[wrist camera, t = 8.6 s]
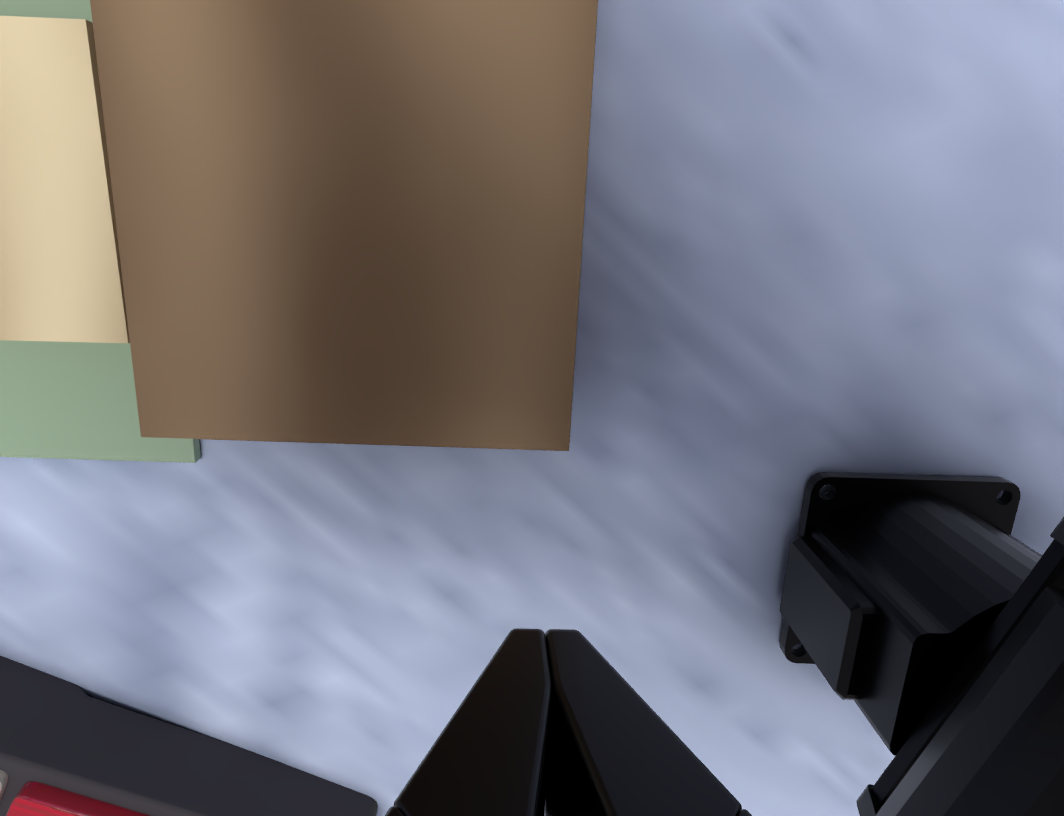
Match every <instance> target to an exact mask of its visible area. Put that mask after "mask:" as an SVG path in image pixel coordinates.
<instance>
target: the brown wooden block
mask: <svg viewBox="0 0 1064 816" xmlns="http://www.w3.org/2000/svg"><path fill="white" fill-rule="evenodd" d="M90 5H91V14H92V22H93V31H94V39H95V48H96V57H97V65H98V74H99V82H100V91H101V99H102V108H103V116H104V125H105V134H106V142H107V151H108V159H109V168H110V176H111V185H112V194H113V202H114V211H115V219H116V228H117V236H118V245H119V253H120V262H121V271H122V279H123V288H124V296H125V305H126V313H127V322H128V330H129V339H130V348H131V356H132V365H133V373H134V382H135V390H136V399H137V408H138V416H139V425H140V433H141V437H152V438H183V439H214V440H245V441H276V442H307V443H338V444H369V445H400V446H431V447H462V448H493V449H524V450H555V451H569V443H570V427H571V412H572V396H573V381H574V365H575V349H576V334H577V318H578V303H579V287H580V271H581V256H582V240H583V225H584V209H585V193H586V178H587V162H588V147H589V131H590V115H591V100H592V84H593V69H594V53H595V37H596V22H597V6H598V0H90Z"/></svg>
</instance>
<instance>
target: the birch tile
mask: <svg viewBox="0 0 1064 816" xmlns="http://www.w3.org/2000/svg"><path fill="white" fill-rule="evenodd" d="M0 340H10V341H51V342H91V343H130V339H129V330H128V322H127V313H126V305H125V296H124V288H123V279H122V271H121V262H120V253H119V245H118V236H117V228H116V219H115V211H114V202H113V194H112V185H111V176H110V168H109V159H108V151H107V142H106V134H105V125H104V116H103V108H102V99H101V91H100V82H99V74H98V65H97V57H96V48H95V39H94V31H93V23H92V22H90V21H88V20H86V19H66V18H43V17H20V16H0Z"/></svg>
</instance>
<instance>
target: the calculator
mask: <svg viewBox="0 0 1064 816" xmlns="http://www.w3.org/2000/svg"><path fill="white" fill-rule="evenodd" d="M377 807H378V806H377V803H376V801H375V800H374V799H373V798H371V797H369V796H367V795H364V794H362V793H359V792H356V791H354V790H351V789H349V788H346V787H343V786H341V785H338V784H335V783H333V782H330V781H328V780H325V779H322V778H320V777H317V776H314V775H312V774H309V773H307V772H304V771H301V770H299V769H296V768H293V767H291V766H288V765H285V764H283V763H280V762H278V761H275V760H272V759H270V758H267V757H264V756H262V755H259V754H256V753H254V752H251V751H248V750H246V749H243V748H240V747H237V746H234V745H232V744H229V743H226V742H223V741H220V740H217V739H214V738H211V737H208V736H205V735H202V734H199V733H196V732H193V731H190V730H187V729H184V728H181V727H178V726H175V725H172V724H169V723H166V722H163V721H160V720H157V719H154V718H151V717H148V716H145V715H142V714H139V713H136V712H133V711H130V710H127V709H124V708H121V707H118V706H115V705H112V704H109V703H106V702H103V701H100V700H98V699H95V698H92V697H89V696H88V695H86V694H85V693H84V691H83V690H82V689H81V688H80V687H79V686H77V685H75V684H73V683H70V682H68V681H65V680H63V679H60V678H57V677H55V676H52V675H50V674H47V673H44V672H42V671H39V670H36V669H34V668H31V667H29V666H26V665H23V664H21V663H18V662H15V661H13V660H10V659H8V658H5V657H2V656H0V816H376V814H377Z"/></svg>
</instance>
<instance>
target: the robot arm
mask: <svg viewBox="0 0 1064 816" xmlns="http://www.w3.org/2000/svg"><path fill="white" fill-rule="evenodd" d="M828 484H830V489H829V491H828V492H827V493H826V494H823V495H819V491H820V489H821V488H822V487H823V486H824V485H828ZM1001 491H1003V494H1002V496H1001V497H1000V498H999V499H997V500H996V497H997V495H998V493H999V492H1001ZM1019 501H1020V490H1019V488H1018V487H1017V486H1016V485H1015V484H1013V483H1012V482H1010V481H1008V480H1006V479H1003V478H999V477H967V476H936V475H904V474H872V473H840V472H821V473H817V474H815V475H813V476H812V477H811V478H810V479H809V480H808V482H807V485H806V488H805V494H804V500H803V506H802V512H801V518H800V524H799V530H798V536H797V537H796V538H795V539H794V540H793V541H792V542H791V544H790V550H789V556H788V562H787V568H786V574H785V580H784V586H783V592H782V598H781V604H780V612H781V614H782V615H783V617H784V620H783V626H782V632H781V638H780V648H781V650H782V651H783V653H784V655H785V656H786V658H787V659H788V660H789V661H791V662H793V663H807V664H816V665H817V667H818V668H819V670H820V671H821V672H822V674H823V675H824V677H825V678H826V680H827V681H828V683H829V684H830V686H831V687H832V689H833V690H834V691H835V692H836V693H837V694H838V695H839V697H841V698H842V699H846V700H854V701H855V702H856V704H857V705H858V707H859V708H860V709H861V711H862V712H863V714H864V715H865V716H866V718H867V719H868V721H869V722H870V724H871V725H872V726H873V728H874V729H875V731H876V732H877V733H878V735H879V736H880V738H881V739H882V741H883V742H884V743H885V745H886V746H887V748H888V749H889V750H890V752H891V753H892V754H893V755H896V756H895V757H894V759H893V760H892V762H891V763H890V764H889V766H888V767H887V768H886V770H885V771H884V772H883V774H882V775H881V777H880V778H879V779H878V781H877V782H876V783H875V785H868V786H867V787H866V789H865V790H864V791H863V793H862V794H861V795H860V797H859V798H858V800H857V806H858V810H859V814H860V816H1064V517H1063V519H1062V520H1061V521H1060V523H1059V524H1058V525H1057V527H1056V528H1055V530H1054V531H1053V532H1052V534H1051V535H1050V536H1051V537H1052V538H1054V540H1053V542H1052V543H1051V544H1050V546H1049V547H1048V549H1047V550H1046V551H1045V553H1044V554H1043V555H1040V554H1039V553H1037V552H1036V551H1034V550H1032V549H1031V548H1029V547H1028V546H1026V545H1025V544H1023V543H1022V542H1020V541H1019V540H1017V539H1015V538H1014V537H1012V536H1011V531H1012V527H1013V524H1014V520H1015V516H1016V512H1017V508H1018V504H1019ZM799 643H802V645H801V646H800V647H799V648H798V649H792V648H793V646H795V645H796V644H799ZM544 813H545V816H752V815H751V814H750V813H749V812H748V811H747V810H745V809H742V806H741V804H740V803H739V802H738V801H737V799H736V798H735V797H734V796H733V795H732V794H731V793H730V792H729V791H728V790H727V789H726V788H725V787H724V786H723V784H722V783H721V782H720V781H719V780H718V779H717V778H716V777H715V776H714V775H713V774H712V773H711V772H710V771H709V770H708V768H707V767H706V766H705V765H704V764H703V763H702V762H701V761H700V760H699V759H698V758H697V757H696V756H695V755H694V753H693V752H692V751H691V750H690V749H689V748H688V747H687V746H686V745H685V744H684V743H683V742H682V741H681V740H680V739H679V737H678V736H677V735H676V734H675V733H674V732H673V731H672V730H671V729H670V728H669V727H668V726H667V725H666V724H665V722H664V721H663V720H662V719H661V718H660V717H659V716H658V715H657V714H656V713H655V712H654V711H653V710H652V709H651V708H650V706H649V705H648V704H647V703H646V702H645V701H644V700H643V699H642V698H641V697H640V696H639V695H638V694H637V693H636V691H635V690H634V689H633V688H632V687H631V686H630V685H629V684H628V683H627V682H626V681H625V680H624V679H623V678H622V677H621V675H620V674H619V673H618V672H617V671H616V670H615V669H614V668H613V667H612V666H611V665H610V664H609V663H608V662H607V660H606V659H605V658H604V657H603V656H602V655H601V654H600V653H599V652H598V651H597V650H596V649H595V648H594V647H593V646H592V644H591V643H590V642H589V641H588V640H587V639H586V638H585V637H584V636H583V635H582V634H581V633H580V632H579V631H577V630H563V629H551V630H548V631H547V632H546V633H544V632H543V631H542V630H540V629H513V630H511V631H510V633H509V634H508V636H507V637H506V638H505V640H504V641H503V643H502V644H501V646H500V647H499V649H498V650H497V652H496V653H495V655H494V656H493V658H492V659H491V661H490V662H489V663H488V665H487V666H486V668H485V669H484V671H483V672H482V674H481V675H480V677H479V678H478V680H477V681H476V683H475V684H474V686H473V687H472V689H471V690H470V691H469V693H468V694H467V696H466V697H465V699H464V700H463V702H462V703H461V705H460V706H459V708H458V709H457V711H456V712H455V714H454V715H453V717H452V718H451V719H450V721H449V722H448V724H447V725H446V727H445V728H444V730H443V731H442V733H441V734H440V736H439V737H438V739H437V740H436V742H435V743H434V745H433V746H432V747H431V749H430V750H429V752H428V753H427V755H426V756H425V758H424V759H423V761H422V762H421V764H420V765H419V767H418V768H417V770H416V771H415V773H414V774H413V775H412V777H411V778H410V780H409V781H408V783H407V784H406V786H405V787H404V789H403V790H402V792H401V793H400V795H399V796H398V798H397V799H396V801H395V802H394V806H393V807H391V808H390V809H389V810H388V812H387V813H386V815H385V816H544Z"/></svg>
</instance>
